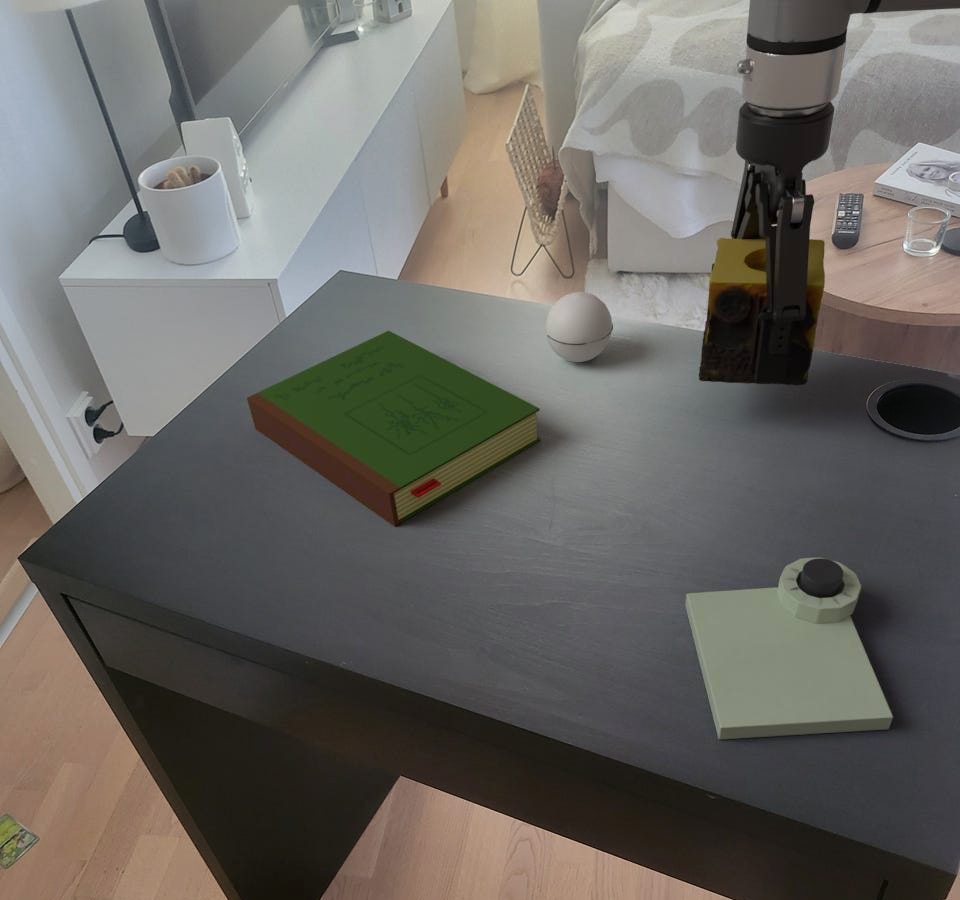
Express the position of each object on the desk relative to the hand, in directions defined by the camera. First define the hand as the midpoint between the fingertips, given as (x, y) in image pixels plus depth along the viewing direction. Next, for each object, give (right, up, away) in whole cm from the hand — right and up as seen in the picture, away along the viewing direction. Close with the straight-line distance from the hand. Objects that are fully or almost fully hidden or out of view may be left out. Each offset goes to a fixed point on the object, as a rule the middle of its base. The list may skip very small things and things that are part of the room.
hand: (755, 348), depth 93 cm
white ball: (-15, +2, +13) cm, 20 cm away
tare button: (0, -24, -19) cm, 31 cm away
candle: (0, -1, +1) cm, 1 cm away
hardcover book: (-36, -8, +5) cm, 37 cm away
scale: (-4, -30, -21) cm, 37 cm away
